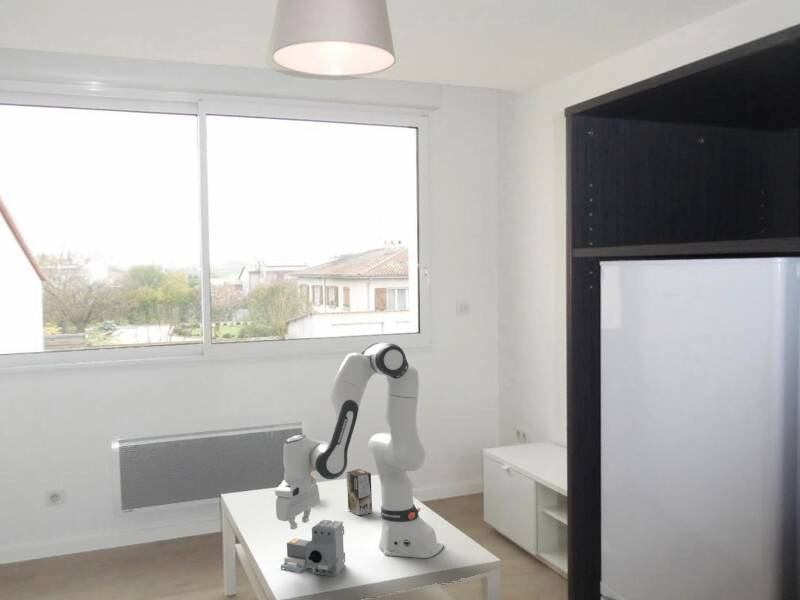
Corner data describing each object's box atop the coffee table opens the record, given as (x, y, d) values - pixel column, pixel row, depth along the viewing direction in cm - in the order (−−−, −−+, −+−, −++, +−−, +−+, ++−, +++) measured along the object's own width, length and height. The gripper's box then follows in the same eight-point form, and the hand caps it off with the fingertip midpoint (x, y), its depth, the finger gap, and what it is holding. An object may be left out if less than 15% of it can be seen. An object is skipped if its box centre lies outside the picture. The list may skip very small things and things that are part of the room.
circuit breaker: (304, 581, 231) (302, 534, 231) (325, 563, 245) (323, 519, 244) (326, 584, 229) (324, 537, 228) (345, 566, 242) (343, 521, 241)
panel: (324, 556, 251) (324, 547, 251) (301, 572, 238) (300, 563, 238) (305, 553, 255) (304, 544, 254) (280, 568, 242) (280, 559, 242)
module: (315, 559, 246) (314, 541, 245) (307, 564, 242) (306, 546, 241) (295, 555, 249) (294, 537, 249) (287, 560, 245) (286, 542, 245)
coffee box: (373, 513, 293) (371, 473, 292) (359, 516, 290) (357, 476, 289) (361, 507, 301) (359, 468, 300) (347, 510, 297) (346, 471, 296)
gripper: (307, 475, 255) (309, 514, 256) (271, 492, 237) (273, 534, 237) (323, 476, 252) (324, 516, 253) (287, 494, 234) (289, 537, 235)
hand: (299, 525), depth 245 cm, fingers open, 5 cm apart
